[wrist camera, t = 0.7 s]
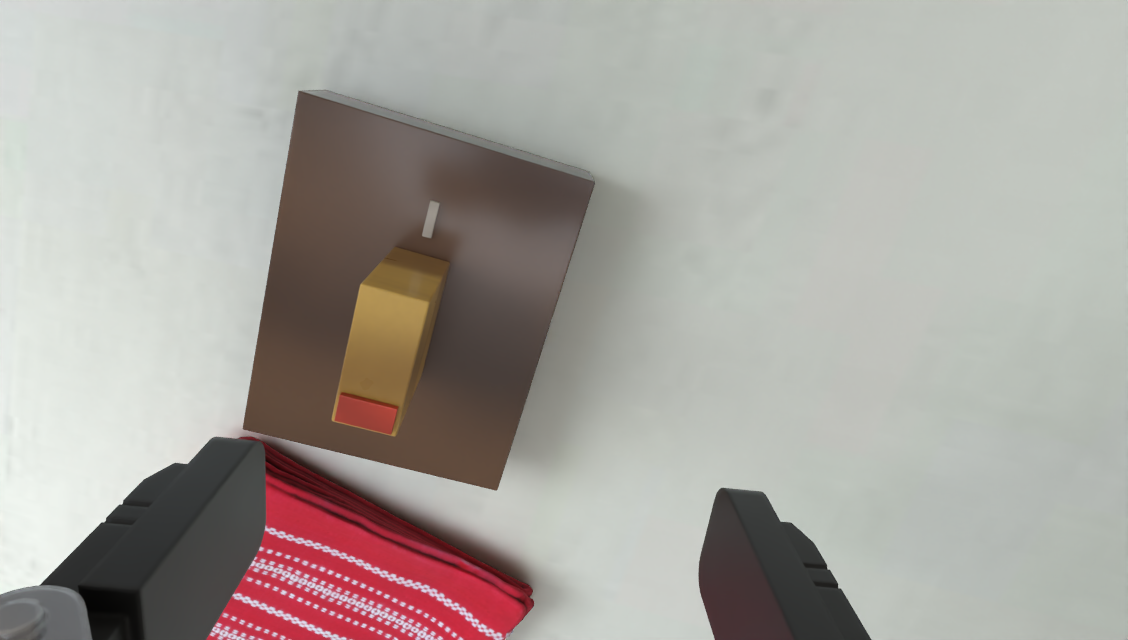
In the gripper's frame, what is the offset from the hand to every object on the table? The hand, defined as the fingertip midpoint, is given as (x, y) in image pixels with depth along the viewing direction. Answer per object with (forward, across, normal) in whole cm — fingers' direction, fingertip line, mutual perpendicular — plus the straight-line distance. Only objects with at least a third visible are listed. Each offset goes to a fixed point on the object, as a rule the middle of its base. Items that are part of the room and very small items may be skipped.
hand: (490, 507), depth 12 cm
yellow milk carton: (+15, +4, +2) cm, 16 cm away
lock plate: (+18, +4, +2) cm, 18 cm away
